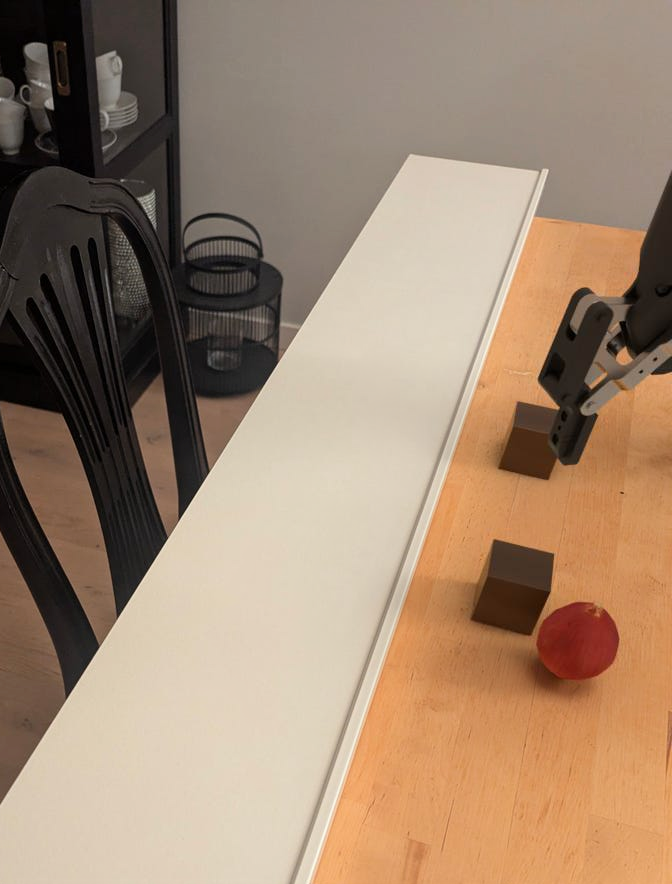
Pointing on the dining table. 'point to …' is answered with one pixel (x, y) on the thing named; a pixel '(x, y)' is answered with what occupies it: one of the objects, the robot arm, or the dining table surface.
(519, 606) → the walnut block near
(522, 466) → the walnut block far
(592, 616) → the onion
